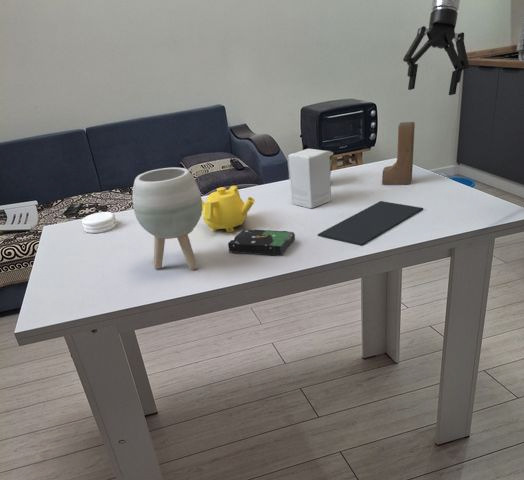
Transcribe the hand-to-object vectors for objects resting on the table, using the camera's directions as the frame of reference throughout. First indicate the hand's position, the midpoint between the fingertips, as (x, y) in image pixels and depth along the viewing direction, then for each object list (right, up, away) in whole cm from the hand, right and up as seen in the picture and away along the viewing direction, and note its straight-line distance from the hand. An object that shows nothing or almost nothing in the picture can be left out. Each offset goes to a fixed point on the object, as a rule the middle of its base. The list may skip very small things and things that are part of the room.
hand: (431, 92), depth 161 cm
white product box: (-36, -32, +5) cm, 48 cm away
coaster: (-101, -40, +5) cm, 109 cm away
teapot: (-61, -42, -5) cm, 74 cm away
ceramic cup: (-33, -21, +21) cm, 44 cm away
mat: (-21, -43, -14) cm, 50 cm away
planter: (-72, -56, -25) cm, 95 cm away
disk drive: (-51, -51, -21) cm, 75 cm away
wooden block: (-7, -23, +13) cm, 28 cm away
